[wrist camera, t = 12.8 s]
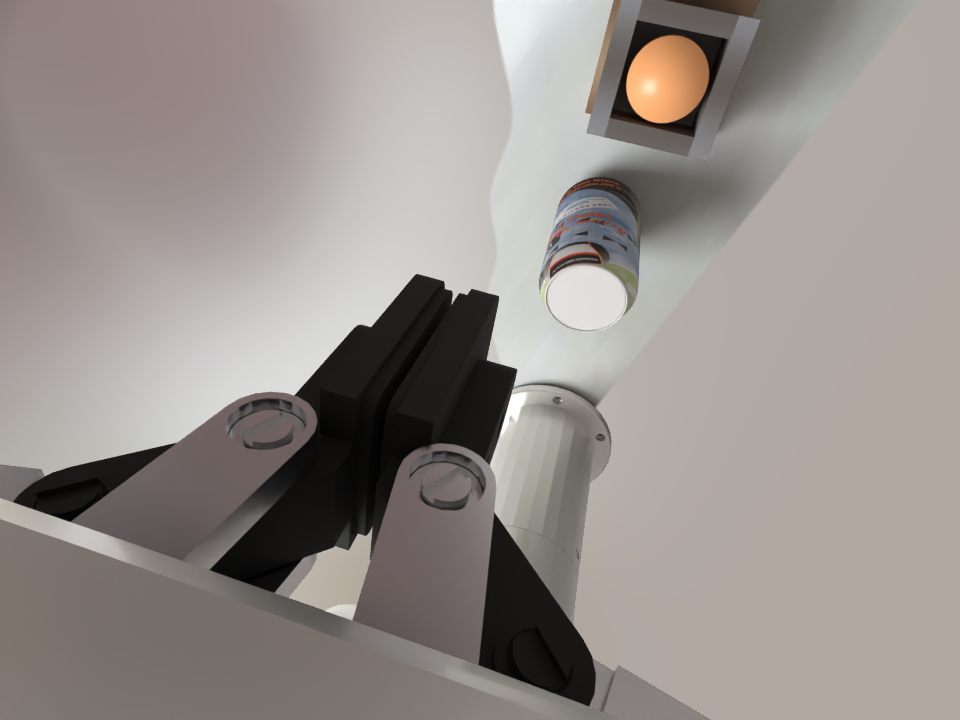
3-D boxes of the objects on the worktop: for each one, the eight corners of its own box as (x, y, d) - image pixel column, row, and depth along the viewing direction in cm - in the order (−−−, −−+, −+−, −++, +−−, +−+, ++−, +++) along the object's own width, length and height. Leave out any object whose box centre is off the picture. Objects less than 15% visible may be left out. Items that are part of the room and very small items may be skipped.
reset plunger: (688, 121, 32) (691, 130, 30) (618, 106, 32) (616, 113, 30) (717, 42, 29) (722, 45, 27) (641, 25, 30) (640, 28, 28)
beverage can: (633, 162, 40) (628, 217, 30) (649, 258, 43) (649, 335, 33) (547, 183, 42) (516, 240, 32) (569, 272, 45) (547, 349, 36)
